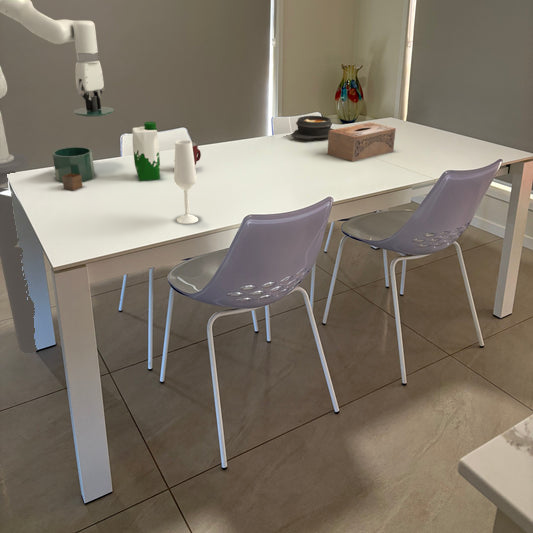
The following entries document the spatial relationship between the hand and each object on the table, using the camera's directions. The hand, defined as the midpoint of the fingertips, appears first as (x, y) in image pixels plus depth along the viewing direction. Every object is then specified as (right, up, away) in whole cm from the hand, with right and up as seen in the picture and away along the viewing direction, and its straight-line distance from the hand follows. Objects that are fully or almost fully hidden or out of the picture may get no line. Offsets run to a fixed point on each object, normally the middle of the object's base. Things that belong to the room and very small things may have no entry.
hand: (93, 109), depth 219 cm
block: (-4, -31, -13) cm, 34 cm away
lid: (0, -1, 0) cm, 1 cm away
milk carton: (+21, -26, -1) cm, 33 cm away
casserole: (+86, +2, +58) cm, 104 cm away
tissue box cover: (+105, -10, +33) cm, 110 cm away
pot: (-6, -25, -1) cm, 26 cm away
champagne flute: (+40, -44, -38) cm, 71 cm away
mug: (+35, -21, +9) cm, 42 cm away
